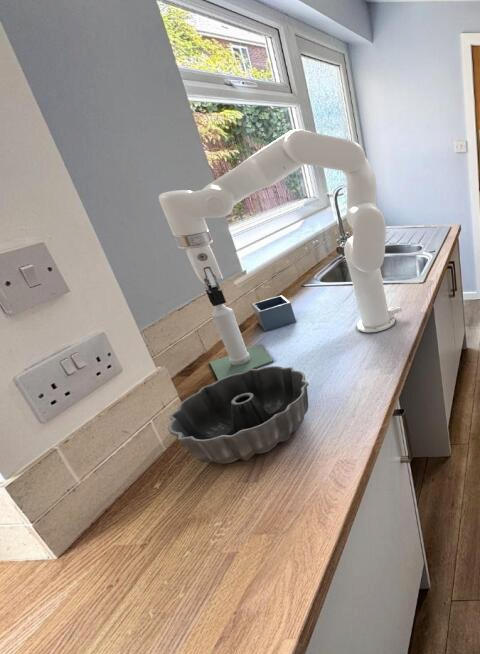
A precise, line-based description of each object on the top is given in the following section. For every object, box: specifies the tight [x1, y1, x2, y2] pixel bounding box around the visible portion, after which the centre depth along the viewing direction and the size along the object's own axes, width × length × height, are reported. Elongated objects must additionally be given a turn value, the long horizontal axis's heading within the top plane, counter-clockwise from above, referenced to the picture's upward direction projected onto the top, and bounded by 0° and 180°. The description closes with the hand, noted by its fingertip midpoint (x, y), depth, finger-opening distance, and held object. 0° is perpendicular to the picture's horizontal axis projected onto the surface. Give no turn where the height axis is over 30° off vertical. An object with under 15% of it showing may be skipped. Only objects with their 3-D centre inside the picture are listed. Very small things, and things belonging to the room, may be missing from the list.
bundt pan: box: [167, 365, 310, 464], centre depth 91 cm, size 26×26×10 cm
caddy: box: [251, 295, 297, 332], centre depth 145 cm, size 10×10×8 cm
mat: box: [209, 344, 274, 381], centre depth 122 cm, size 14×14×1 cm
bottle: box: [208, 284, 250, 366], centre depth 116 cm, size 5×5×25 cm
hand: (218, 302), depth 113 cm, fingers closed on bottle, 2 cm apart
